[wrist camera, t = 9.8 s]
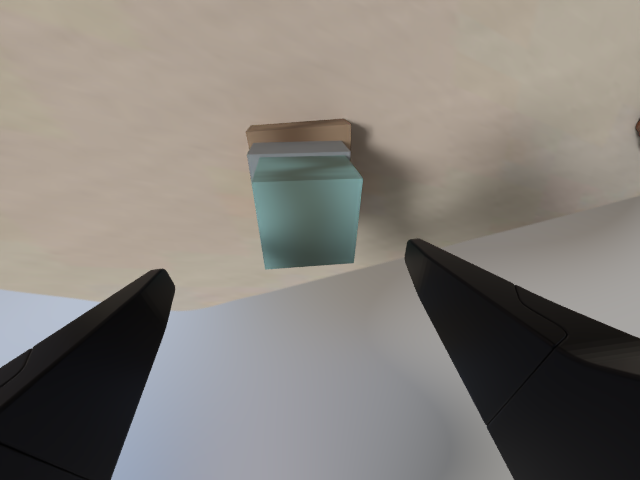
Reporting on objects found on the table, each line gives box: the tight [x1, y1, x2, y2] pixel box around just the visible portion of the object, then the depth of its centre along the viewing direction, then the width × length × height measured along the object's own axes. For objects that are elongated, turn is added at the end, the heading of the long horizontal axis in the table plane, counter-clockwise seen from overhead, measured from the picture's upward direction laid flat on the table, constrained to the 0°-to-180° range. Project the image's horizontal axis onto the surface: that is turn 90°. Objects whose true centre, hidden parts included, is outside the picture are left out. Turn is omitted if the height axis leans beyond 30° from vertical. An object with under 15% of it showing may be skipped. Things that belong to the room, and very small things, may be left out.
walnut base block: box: [246, 119, 351, 151], centre depth 19 cm, size 7×7×3 cm
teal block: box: [252, 155, 363, 269], centre depth 14 cm, size 5×5×4 cm
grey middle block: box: [247, 141, 351, 182], centre depth 17 cm, size 6×6×3 cm
